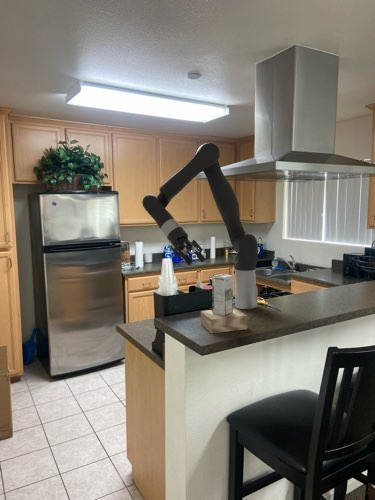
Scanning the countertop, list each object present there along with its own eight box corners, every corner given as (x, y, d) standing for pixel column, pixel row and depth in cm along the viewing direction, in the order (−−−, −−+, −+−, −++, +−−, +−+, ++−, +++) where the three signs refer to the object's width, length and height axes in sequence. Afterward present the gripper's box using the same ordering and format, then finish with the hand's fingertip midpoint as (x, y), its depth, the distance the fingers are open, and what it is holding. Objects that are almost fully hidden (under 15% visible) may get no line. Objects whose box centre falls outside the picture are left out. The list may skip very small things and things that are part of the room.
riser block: (234, 320, 144) (234, 307, 144) (247, 328, 133) (247, 315, 132) (200, 323, 140) (200, 311, 140) (211, 333, 129) (211, 319, 128)
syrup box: (220, 310, 140) (219, 273, 139) (233, 312, 136) (233, 274, 135) (212, 313, 136) (211, 275, 134) (225, 316, 132) (224, 276, 131)
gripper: (167, 226, 140) (191, 257, 134) (190, 225, 151) (213, 254, 145) (157, 240, 144) (180, 270, 138) (180, 237, 155) (202, 266, 149)
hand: (197, 262), depth 141 cm, fingers open, 8 cm apart
